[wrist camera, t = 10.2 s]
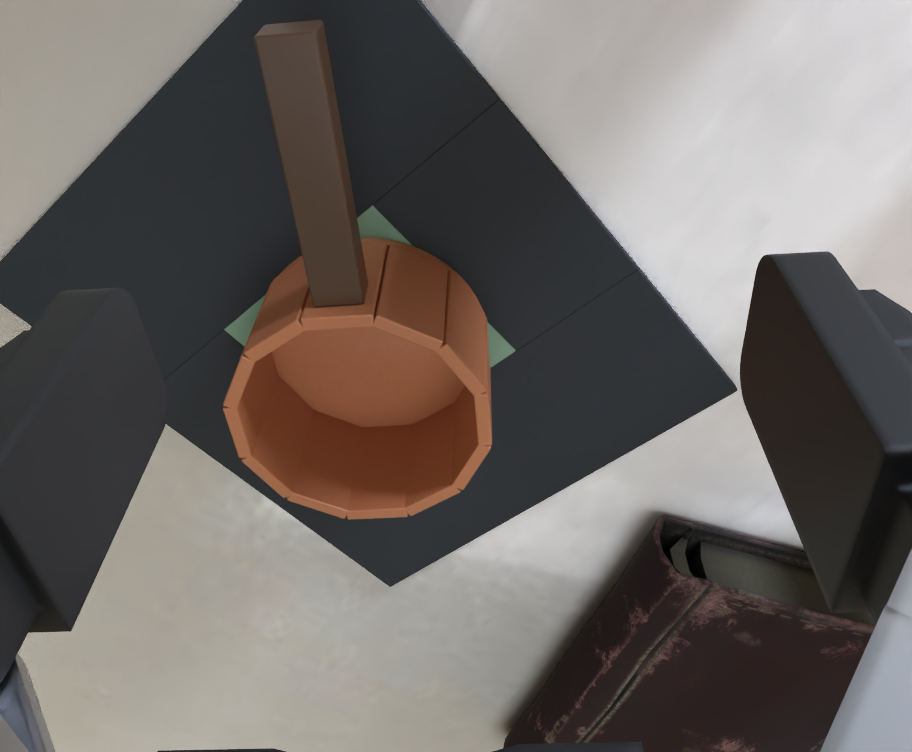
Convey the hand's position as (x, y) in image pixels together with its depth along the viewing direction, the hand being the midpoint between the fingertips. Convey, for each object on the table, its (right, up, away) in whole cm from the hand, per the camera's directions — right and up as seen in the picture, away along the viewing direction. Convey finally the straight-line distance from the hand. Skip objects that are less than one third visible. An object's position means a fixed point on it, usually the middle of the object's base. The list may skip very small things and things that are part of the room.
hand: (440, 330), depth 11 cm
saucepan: (-4, +5, +26) cm, 26 cm away
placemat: (-4, +1, +29) cm, 29 cm away
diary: (+16, -20, +44) cm, 51 cm away
